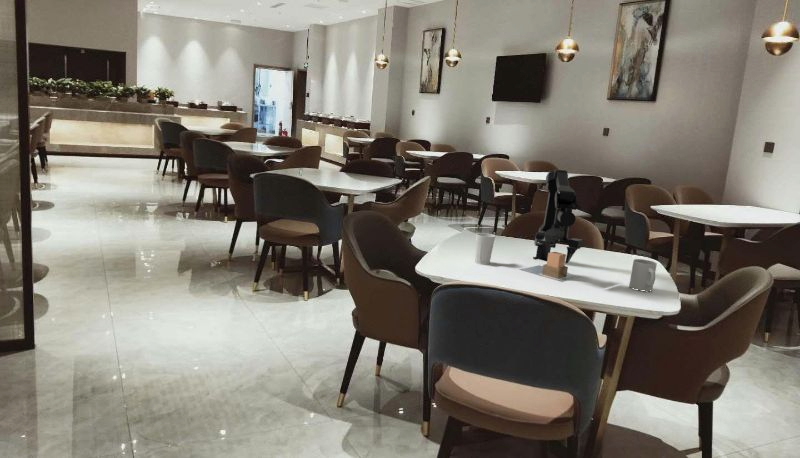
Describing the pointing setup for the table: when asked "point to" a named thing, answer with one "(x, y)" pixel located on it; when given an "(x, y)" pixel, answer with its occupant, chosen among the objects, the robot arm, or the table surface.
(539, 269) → the plate
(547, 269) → the base block
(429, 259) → the table surface
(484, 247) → the cup
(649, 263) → the mug
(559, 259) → the top block
